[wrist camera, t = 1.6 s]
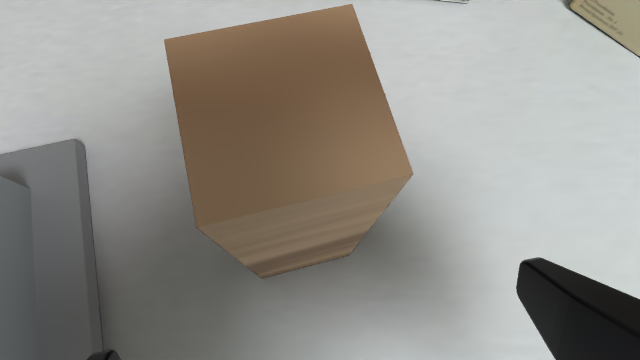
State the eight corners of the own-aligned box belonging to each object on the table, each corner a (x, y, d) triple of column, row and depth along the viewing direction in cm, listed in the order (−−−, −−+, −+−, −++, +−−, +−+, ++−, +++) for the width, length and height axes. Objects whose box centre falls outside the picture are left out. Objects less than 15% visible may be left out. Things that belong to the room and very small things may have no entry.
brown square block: (348, 255, 20) (413, 174, 8) (261, 278, 19) (196, 227, 8) (325, 174, 21) (352, 3, 10) (243, 194, 21) (163, 39, 9)
